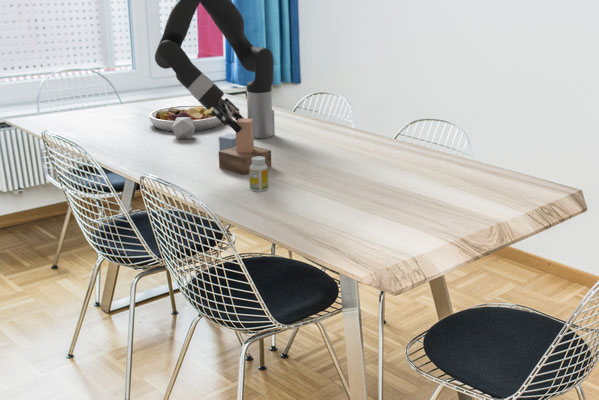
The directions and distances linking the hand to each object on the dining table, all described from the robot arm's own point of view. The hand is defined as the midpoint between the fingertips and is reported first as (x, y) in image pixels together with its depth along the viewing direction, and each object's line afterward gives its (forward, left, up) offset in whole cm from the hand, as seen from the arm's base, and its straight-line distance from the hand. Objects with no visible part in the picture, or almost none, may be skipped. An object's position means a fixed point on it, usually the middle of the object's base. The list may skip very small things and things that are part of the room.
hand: (242, 127), depth 228 cm
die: (-3, -47, -14) cm, 49 cm away
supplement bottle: (+9, +21, -14) cm, 27 cm away
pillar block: (-1, 0, -8) cm, 8 cm away
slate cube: (-6, -18, -13) cm, 23 cm away
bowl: (-15, -66, -14) cm, 69 cm away
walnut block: (0, 0, -14) cm, 14 cm away
